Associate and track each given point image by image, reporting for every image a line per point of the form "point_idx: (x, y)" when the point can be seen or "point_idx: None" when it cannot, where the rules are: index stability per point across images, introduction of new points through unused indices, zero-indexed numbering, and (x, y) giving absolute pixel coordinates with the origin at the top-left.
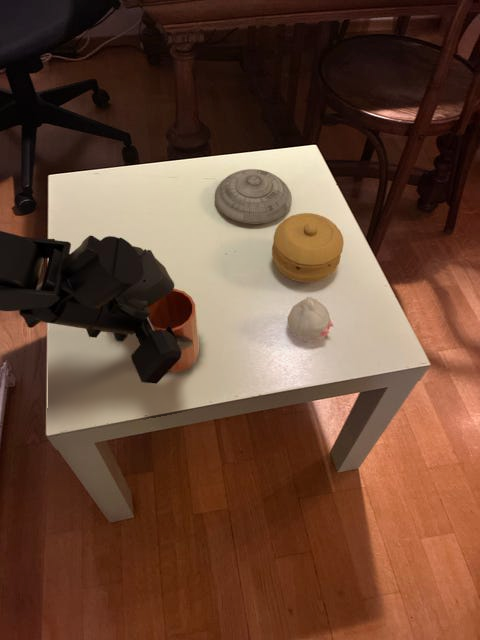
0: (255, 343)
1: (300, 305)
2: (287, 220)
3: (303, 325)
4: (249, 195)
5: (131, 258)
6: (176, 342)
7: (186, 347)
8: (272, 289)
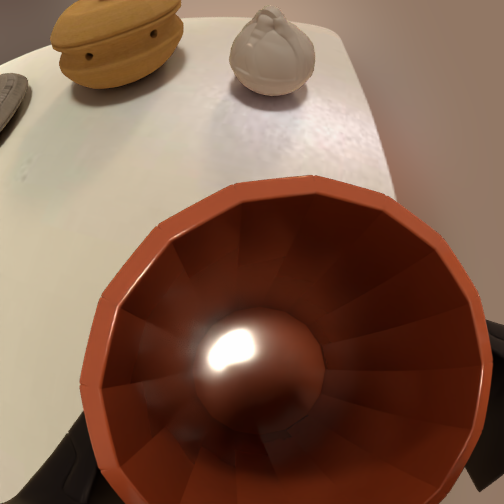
0: (277, 165)
1: (266, 30)
2: (61, 19)
3: (304, 51)
4: None
5: None
6: None
7: None
8: (146, 109)
